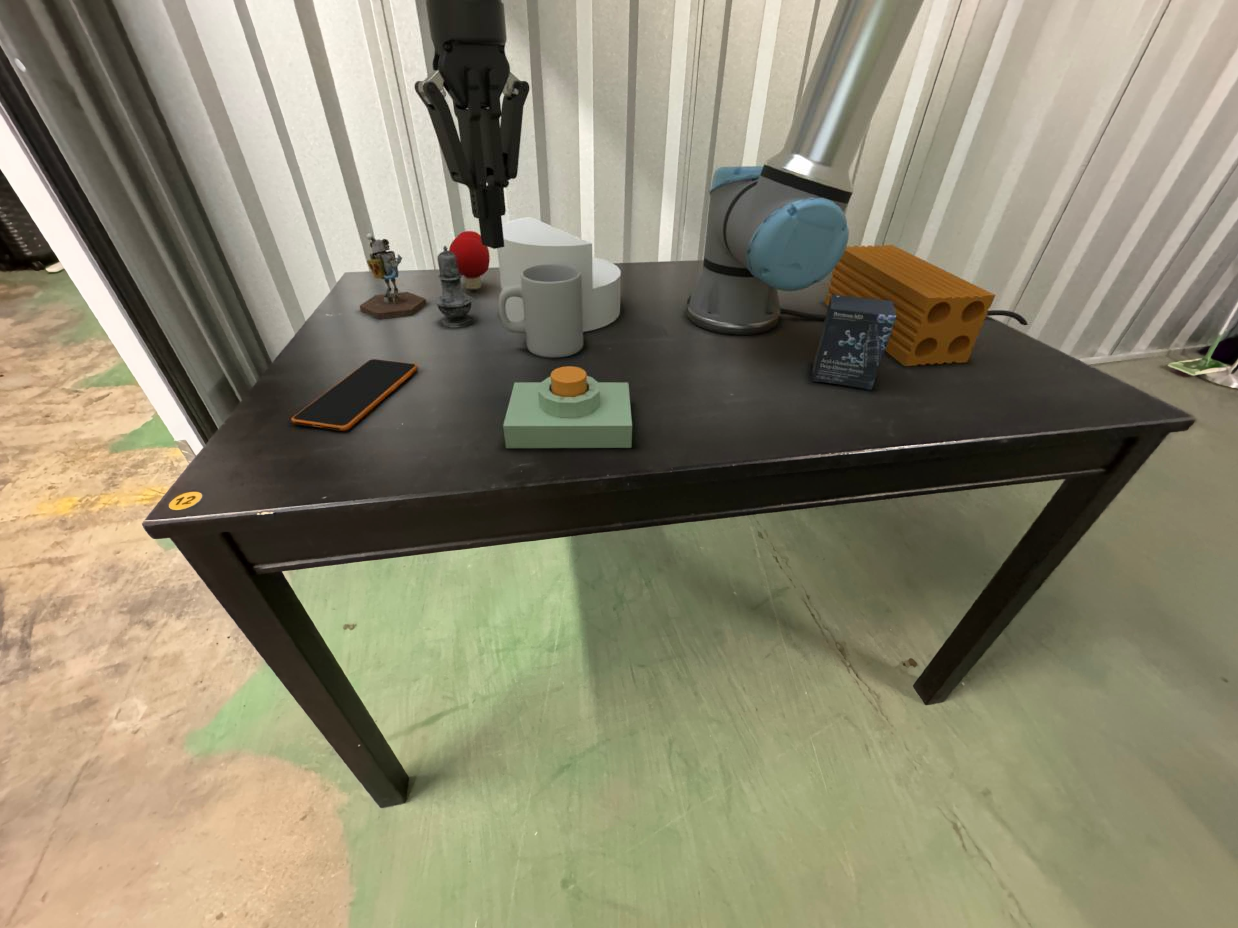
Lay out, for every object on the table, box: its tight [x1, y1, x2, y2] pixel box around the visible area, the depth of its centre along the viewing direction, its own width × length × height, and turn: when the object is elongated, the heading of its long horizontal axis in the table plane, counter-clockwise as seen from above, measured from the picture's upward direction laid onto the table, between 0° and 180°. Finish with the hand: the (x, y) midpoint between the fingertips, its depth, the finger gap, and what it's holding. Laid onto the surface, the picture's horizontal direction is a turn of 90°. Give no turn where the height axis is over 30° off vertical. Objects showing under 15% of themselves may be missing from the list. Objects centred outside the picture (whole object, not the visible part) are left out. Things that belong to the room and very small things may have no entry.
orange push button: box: [550, 365, 588, 397], centre depth 62 cm, size 4×4×2 cm
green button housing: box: [502, 375, 633, 449], centre depth 64 cm, size 14×10×5 cm
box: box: [812, 294, 896, 391], centre depth 73 cm, size 8×6×11 cm
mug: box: [498, 264, 584, 359], centre depth 80 cm, size 12×8×11 cm
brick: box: [824, 244, 996, 367], centre depth 87 cm, size 26×10×10 cm, turn 9°
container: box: [496, 216, 622, 333], centre depth 91 cm, size 20×20×13 cm
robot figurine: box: [359, 233, 427, 320], centre depth 91 cm, size 11×9×12 cm
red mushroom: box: [448, 230, 491, 292], centre depth 100 cm, size 9×7×10 cm
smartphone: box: [290, 358, 419, 431], centre depth 70 cm, size 8×17×1 cm, turn 167°
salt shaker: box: [434, 245, 475, 329], centre depth 87 cm, size 6×6×12 cm
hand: (493, 245), depth 68 cm, fingers closed
